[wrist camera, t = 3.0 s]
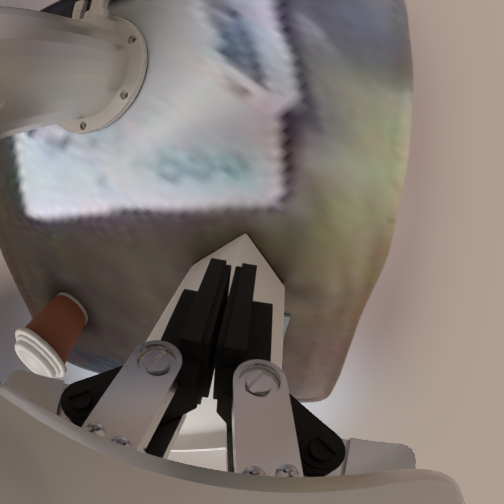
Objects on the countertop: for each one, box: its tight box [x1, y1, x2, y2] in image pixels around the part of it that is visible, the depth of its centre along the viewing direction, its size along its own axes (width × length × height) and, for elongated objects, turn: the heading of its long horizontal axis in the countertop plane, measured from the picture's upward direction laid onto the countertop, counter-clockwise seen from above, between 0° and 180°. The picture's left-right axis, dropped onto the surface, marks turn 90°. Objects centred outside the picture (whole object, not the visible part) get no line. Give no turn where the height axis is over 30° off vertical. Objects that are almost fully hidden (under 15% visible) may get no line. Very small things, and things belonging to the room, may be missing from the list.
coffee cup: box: [15, 292, 88, 378], centre depth 29 cm, size 9×9×12 cm
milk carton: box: [146, 234, 285, 451], centre depth 20 cm, size 7×7×19 cm
